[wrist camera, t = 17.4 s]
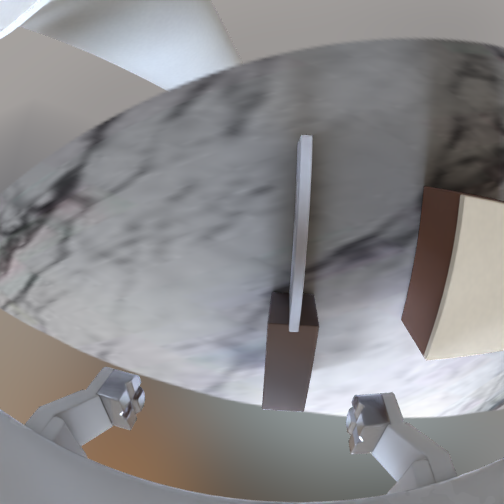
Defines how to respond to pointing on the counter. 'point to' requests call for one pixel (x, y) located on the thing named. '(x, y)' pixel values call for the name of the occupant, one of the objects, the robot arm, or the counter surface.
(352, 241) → the counter surface
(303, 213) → the knife
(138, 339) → the counter surface
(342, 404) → the counter surface
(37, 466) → the robot arm
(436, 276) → the cake
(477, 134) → the counter surface
